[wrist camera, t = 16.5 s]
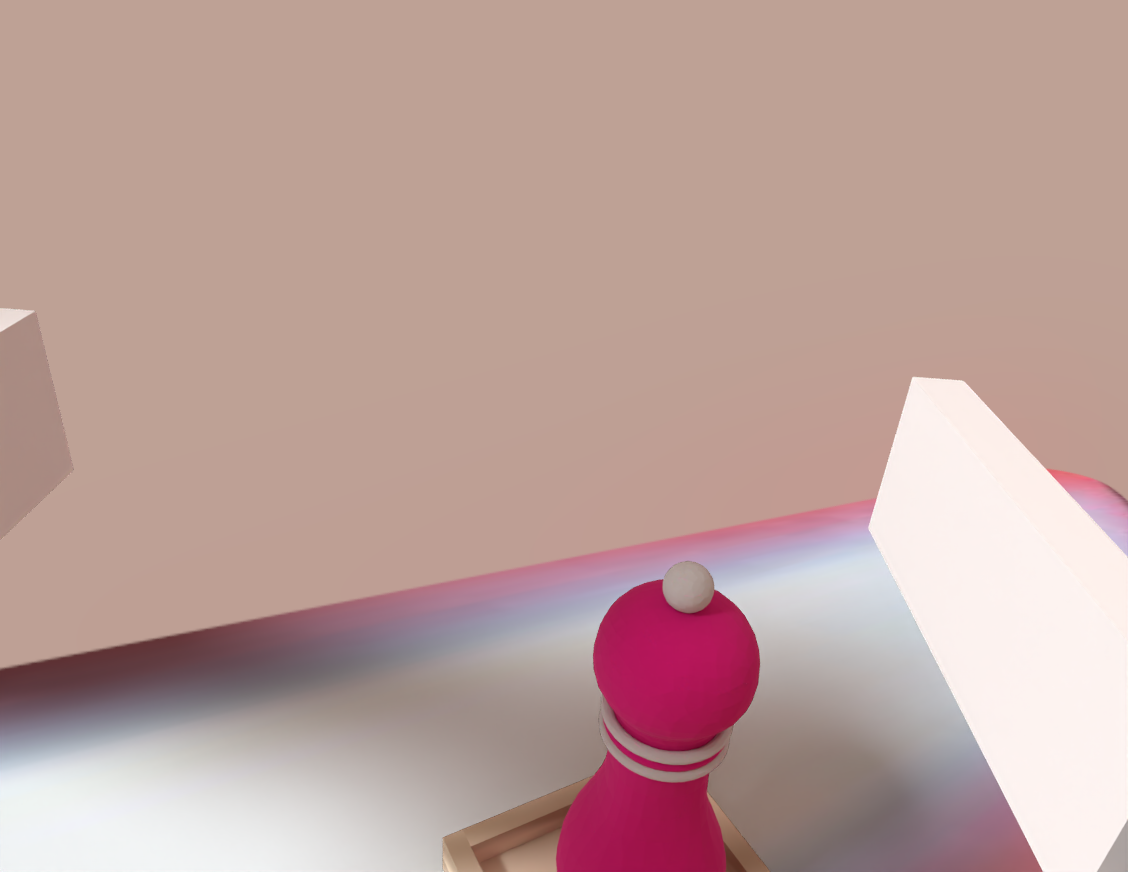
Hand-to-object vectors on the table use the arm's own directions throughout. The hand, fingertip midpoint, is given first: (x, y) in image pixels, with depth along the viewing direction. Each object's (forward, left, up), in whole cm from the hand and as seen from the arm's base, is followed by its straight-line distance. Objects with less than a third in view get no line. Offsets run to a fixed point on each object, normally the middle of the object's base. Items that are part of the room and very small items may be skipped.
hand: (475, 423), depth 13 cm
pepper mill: (-7, +11, -31) cm, 34 cm away
